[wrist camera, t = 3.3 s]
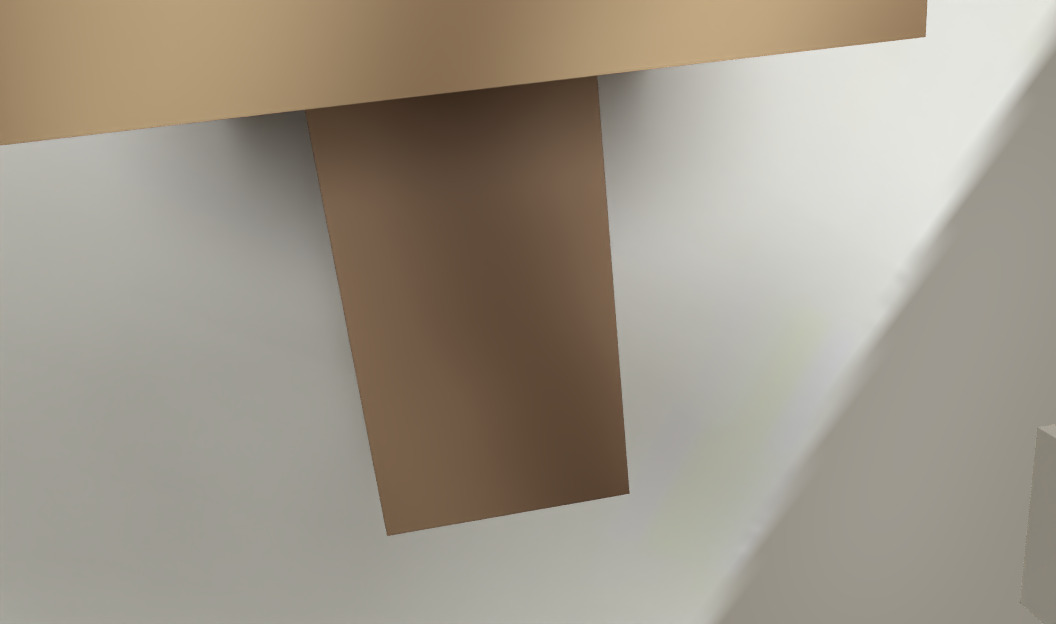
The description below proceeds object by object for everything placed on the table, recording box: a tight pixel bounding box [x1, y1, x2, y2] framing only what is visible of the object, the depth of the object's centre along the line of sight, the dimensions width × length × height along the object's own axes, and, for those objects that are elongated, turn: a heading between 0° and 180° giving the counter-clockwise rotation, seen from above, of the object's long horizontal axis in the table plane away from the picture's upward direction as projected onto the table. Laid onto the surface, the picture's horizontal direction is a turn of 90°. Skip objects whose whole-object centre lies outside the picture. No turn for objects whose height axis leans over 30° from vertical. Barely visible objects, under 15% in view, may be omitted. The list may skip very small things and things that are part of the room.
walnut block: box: [305, 75, 629, 536], centre depth 17 cm, size 5×15×8 cm, turn 6°
